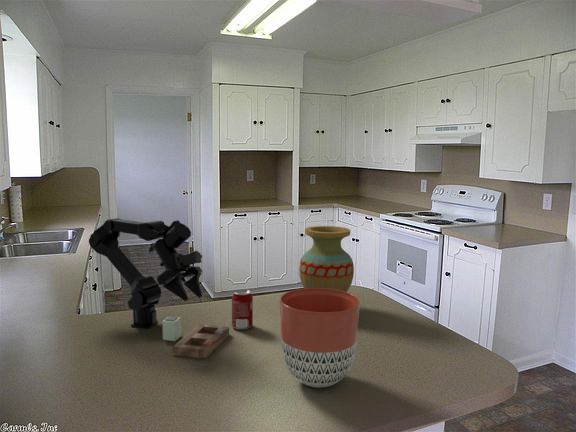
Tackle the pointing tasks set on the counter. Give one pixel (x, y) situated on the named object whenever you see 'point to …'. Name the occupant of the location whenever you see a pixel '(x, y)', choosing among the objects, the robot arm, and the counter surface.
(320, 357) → the planter
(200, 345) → the socket block
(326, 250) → the vase
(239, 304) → the soda can
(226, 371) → the counter surface
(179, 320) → the plug
